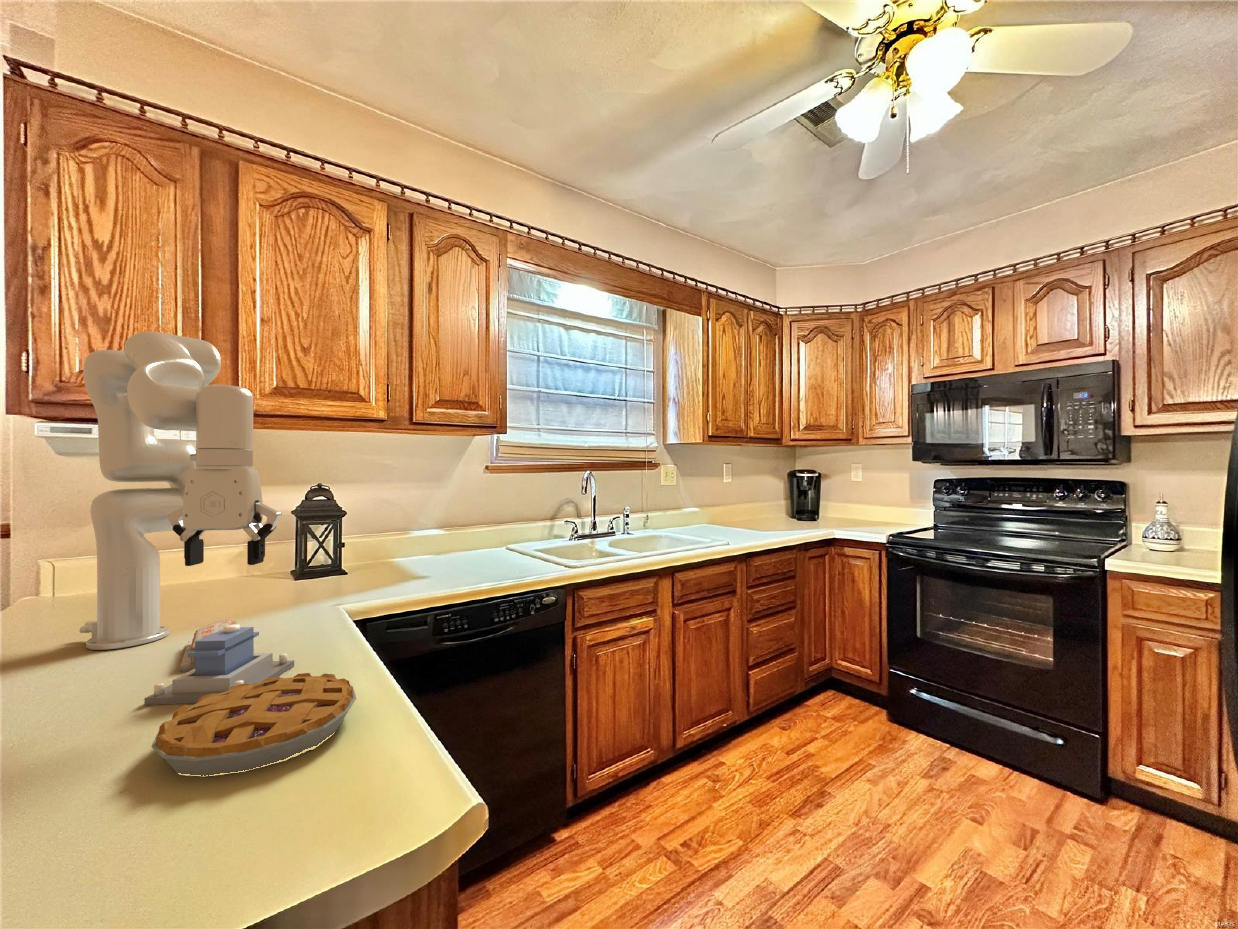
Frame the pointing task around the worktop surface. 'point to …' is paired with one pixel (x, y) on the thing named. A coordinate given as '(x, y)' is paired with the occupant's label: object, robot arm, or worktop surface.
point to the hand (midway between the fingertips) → (225, 564)
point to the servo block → (224, 650)
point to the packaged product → (189, 662)
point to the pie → (254, 724)
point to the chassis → (218, 680)
